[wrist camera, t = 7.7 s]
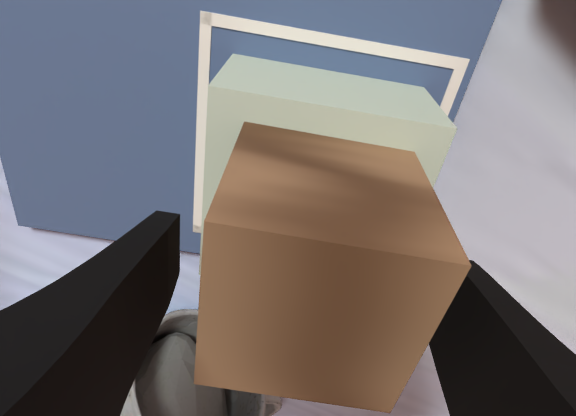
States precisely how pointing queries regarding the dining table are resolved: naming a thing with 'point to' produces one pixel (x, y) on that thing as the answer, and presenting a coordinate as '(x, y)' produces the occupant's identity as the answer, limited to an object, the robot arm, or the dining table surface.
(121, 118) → the board
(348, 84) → the sage base block
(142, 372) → the ceramic mug
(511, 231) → the dining table surface
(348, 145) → the walnut block
